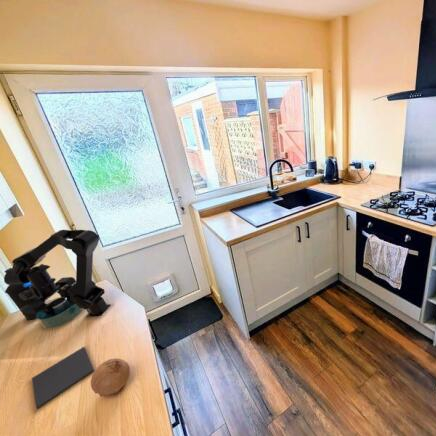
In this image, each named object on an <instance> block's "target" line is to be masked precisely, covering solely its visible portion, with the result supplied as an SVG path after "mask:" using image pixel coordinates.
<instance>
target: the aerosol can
mask: <svg viewBox="0 0 436 436" xmlns="http://www.w3.org/2000/svg"><path fill="white" fill-rule="evenodd" d="M31 286H33V285H32V284H31V282H28V283H25V284H16V285H7V287H6V289H5V291H4V293H5V294H7V295H8V296H9V298H10V299H11V301H12V302H13V303H14V304H15V306H16V307H17V308H18V310H19V311H20V312H21V314H22V315H23V316H24V318H25V320H26V321H28V322H30V321H34V320H35V321H36V320H38V319H37V317H36V315H37V313H34V314H23V312H22V311H21V309H22V307H24V306H25V305H26V304H28V303H29V302H30V301H38V300H39V299H40V298H41V297H38V298H35V297H33V298H31V299H27V300H22V299H21V298H20V297H19V294H20V293H22V292H24V291H28V290H29V289H31Z"/></svg>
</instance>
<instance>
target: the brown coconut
mask: <svg viewBox="0 0 436 436" xmlns="http://www.w3.org/2000/svg"><path fill="white" fill-rule="evenodd" d="M130 374H131V367H130V364H129V363H128V362H127V361H126V360H125V359H121V358H117V357H116V358H110V359H107V360H105V361H103V362H102V363H100V364H99V365H98V366H97V367H96V368H95V370H94V372H92V375H91V379H90V387H91V390H92V391H93V392H94V393H95V394H98V395H99V396H100V397H103V396H107V395H109V396H110V395H113V394H117V393H119V392H120V391H121V389H122V388H124V386H125V385H126V383H127V382H128V380H129V377H130Z"/></svg>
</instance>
